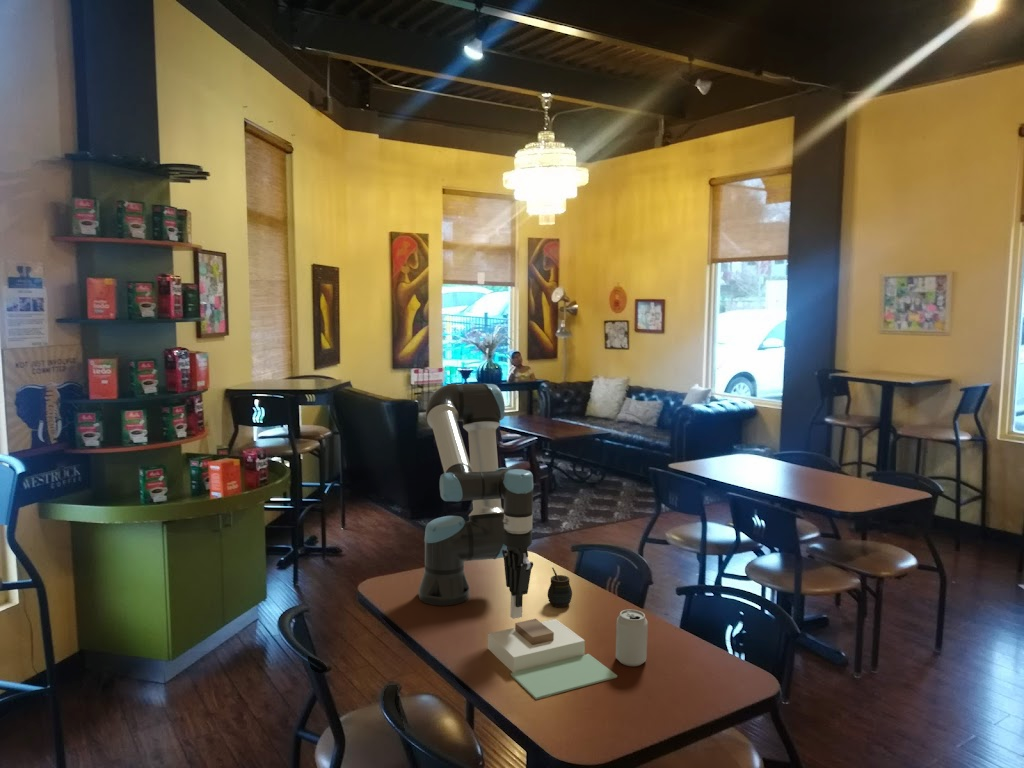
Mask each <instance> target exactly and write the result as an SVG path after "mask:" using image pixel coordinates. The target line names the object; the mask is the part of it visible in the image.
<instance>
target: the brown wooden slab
mask: <svg viewBox="0 0 1024 768" xmlns="http://www.w3.org/2000/svg"><path fill="white" fill-rule="evenodd" d="M541 622H542V621H539V620H538V619H537V618H533V619H528V620H524V621H519V622H515V626H514V628H515V631H516V632H518V633H519V634H520V635H521V636H522V637H523V638H525V639H526V640H527V641H528V642H529V643H531V644H532V645H536V644H540V643H544V642H549V641H553V640H554V632H552V631H551V630H550V629H548V628H547V627H546V626H545V625H543V624H542V623H541Z"/></svg>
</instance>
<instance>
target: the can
mask: <svg viewBox="0 0 1024 768" xmlns="http://www.w3.org/2000/svg"><path fill="white" fill-rule="evenodd" d="M648 626H649V621H648V620H647V618H646V614H645V613H644V612H643V611H640V610H637V609H629V608H628V609H624V610H621V611H620V612H619V616H618V617H617V618H616V630H615V632H616V633H615V635H616V636H615V658H616V659H617V661H618V662H620V664H623V666H628V667H638V666H641V665H642V664H644V663H645V662H646V661H647V650H648V628H649V627H648Z"/></svg>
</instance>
